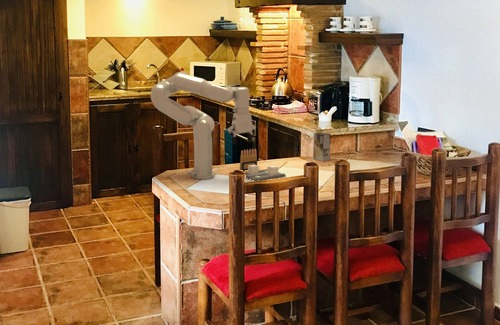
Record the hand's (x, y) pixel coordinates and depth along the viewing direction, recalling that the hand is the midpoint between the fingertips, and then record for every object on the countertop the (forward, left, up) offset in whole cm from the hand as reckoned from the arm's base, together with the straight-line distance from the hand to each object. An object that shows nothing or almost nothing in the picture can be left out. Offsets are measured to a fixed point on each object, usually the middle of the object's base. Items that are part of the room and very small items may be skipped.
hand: (242, 143), depth 346 cm
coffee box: (+66, +13, -19) cm, 70 cm away
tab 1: (+7, 0, -17) cm, 19 cm away
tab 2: (+15, -7, -18) cm, 24 cm away
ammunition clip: (+13, +13, -19) cm, 27 cm away
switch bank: (+11, -4, -19) cm, 22 cm away
